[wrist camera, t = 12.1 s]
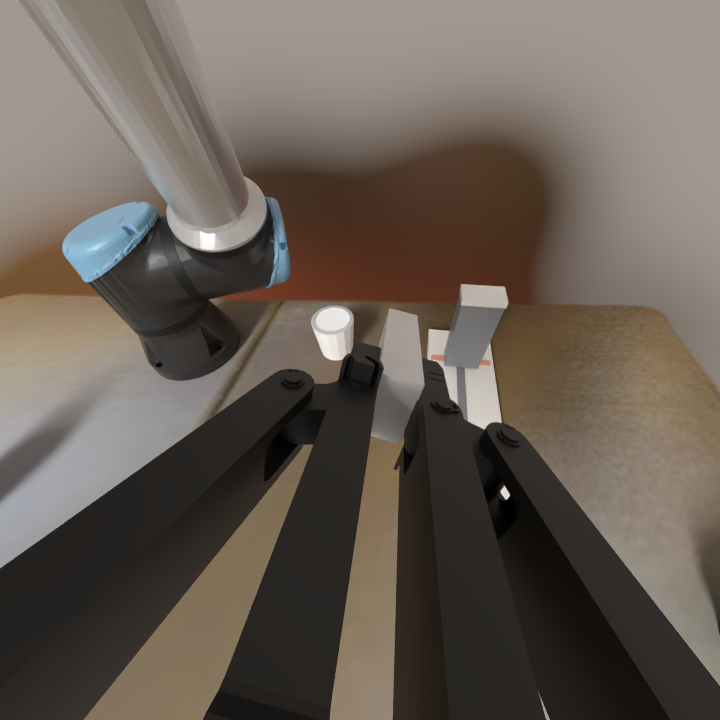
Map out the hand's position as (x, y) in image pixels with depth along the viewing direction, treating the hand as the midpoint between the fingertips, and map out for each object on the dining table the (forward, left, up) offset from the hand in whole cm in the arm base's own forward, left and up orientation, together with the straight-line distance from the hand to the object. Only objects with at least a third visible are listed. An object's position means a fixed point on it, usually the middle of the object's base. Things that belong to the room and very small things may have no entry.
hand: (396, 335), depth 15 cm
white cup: (-24, 0, -26) cm, 35 cm away
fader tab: (-12, +18, -24) cm, 32 cm away
